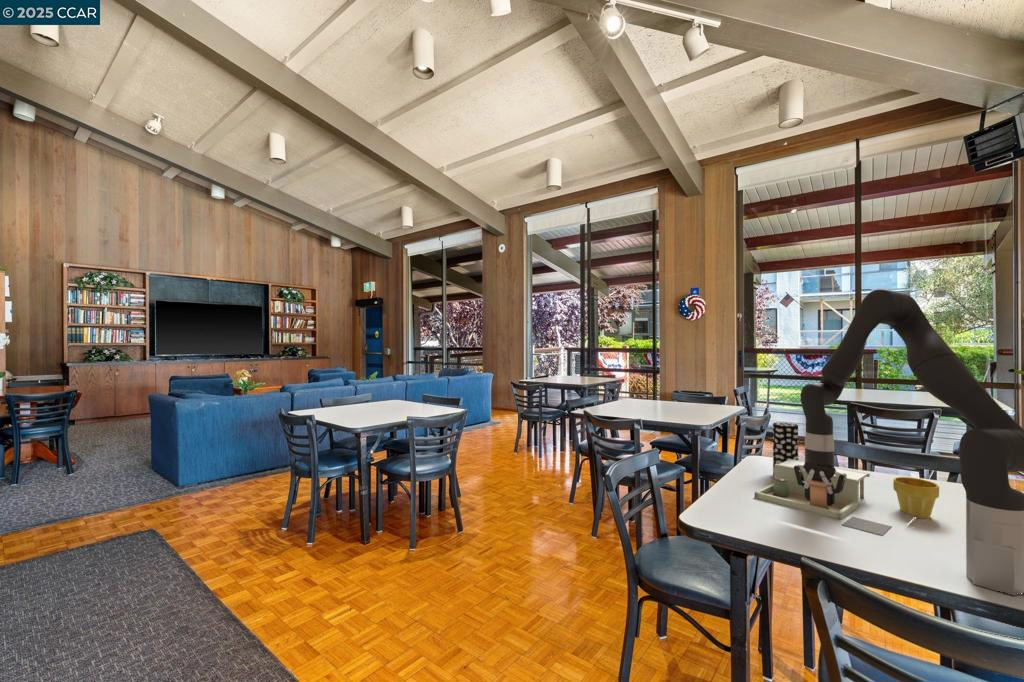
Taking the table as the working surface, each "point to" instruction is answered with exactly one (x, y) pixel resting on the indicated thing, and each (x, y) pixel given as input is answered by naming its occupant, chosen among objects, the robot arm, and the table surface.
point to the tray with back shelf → (796, 499)
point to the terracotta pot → (818, 493)
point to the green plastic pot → (781, 487)
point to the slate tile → (867, 526)
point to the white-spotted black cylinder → (784, 442)
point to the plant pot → (916, 495)
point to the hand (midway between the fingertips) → (819, 502)
